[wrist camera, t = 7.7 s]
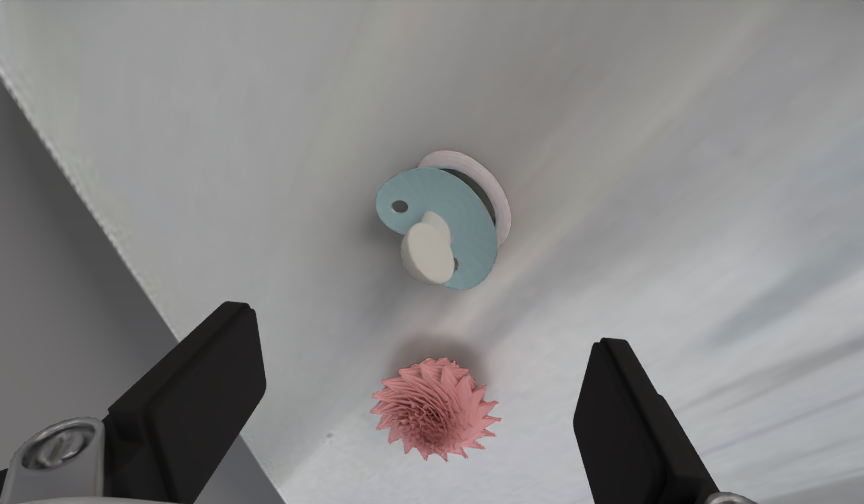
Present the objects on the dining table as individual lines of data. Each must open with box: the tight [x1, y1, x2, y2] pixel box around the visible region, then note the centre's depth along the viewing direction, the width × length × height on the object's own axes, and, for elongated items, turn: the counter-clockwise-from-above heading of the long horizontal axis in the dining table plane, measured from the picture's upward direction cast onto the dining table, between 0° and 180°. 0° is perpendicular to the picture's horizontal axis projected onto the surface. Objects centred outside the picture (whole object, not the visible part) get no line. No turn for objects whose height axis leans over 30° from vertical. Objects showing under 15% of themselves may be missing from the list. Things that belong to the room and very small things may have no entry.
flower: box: [370, 357, 501, 462], centre depth 25 cm, size 8×8×6 cm
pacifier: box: [376, 150, 511, 290], centre depth 20 cm, size 7×6×6 cm
